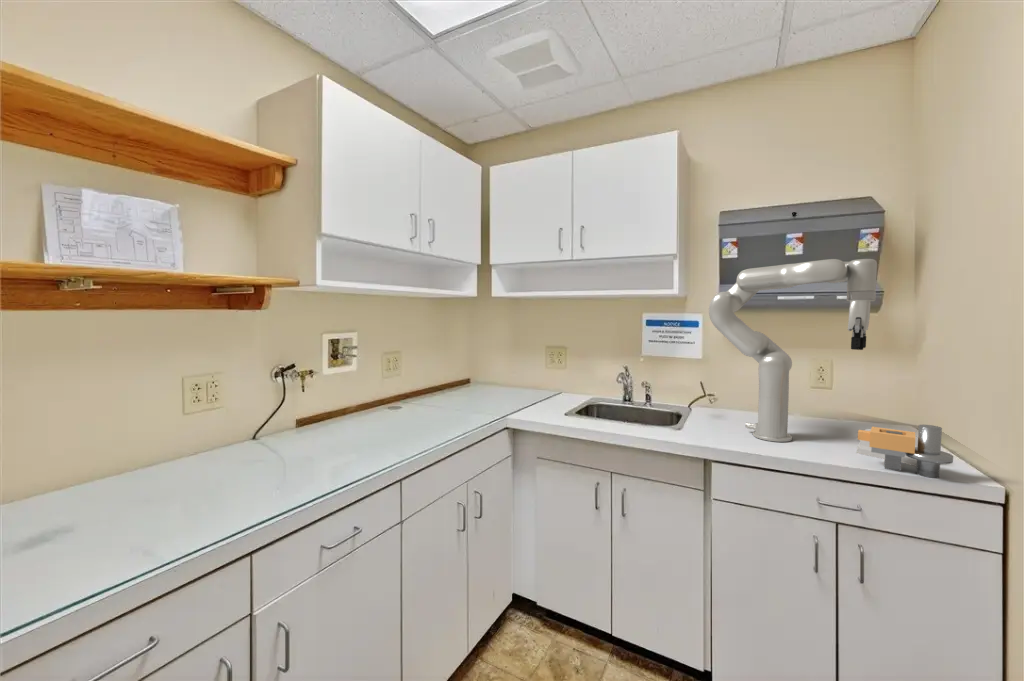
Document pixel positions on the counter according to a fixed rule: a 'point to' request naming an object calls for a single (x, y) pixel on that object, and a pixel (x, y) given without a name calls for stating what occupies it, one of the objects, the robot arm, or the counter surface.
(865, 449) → the white curved casing
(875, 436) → the bracket
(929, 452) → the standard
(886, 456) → the grey rectangular bar
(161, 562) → the counter surface
